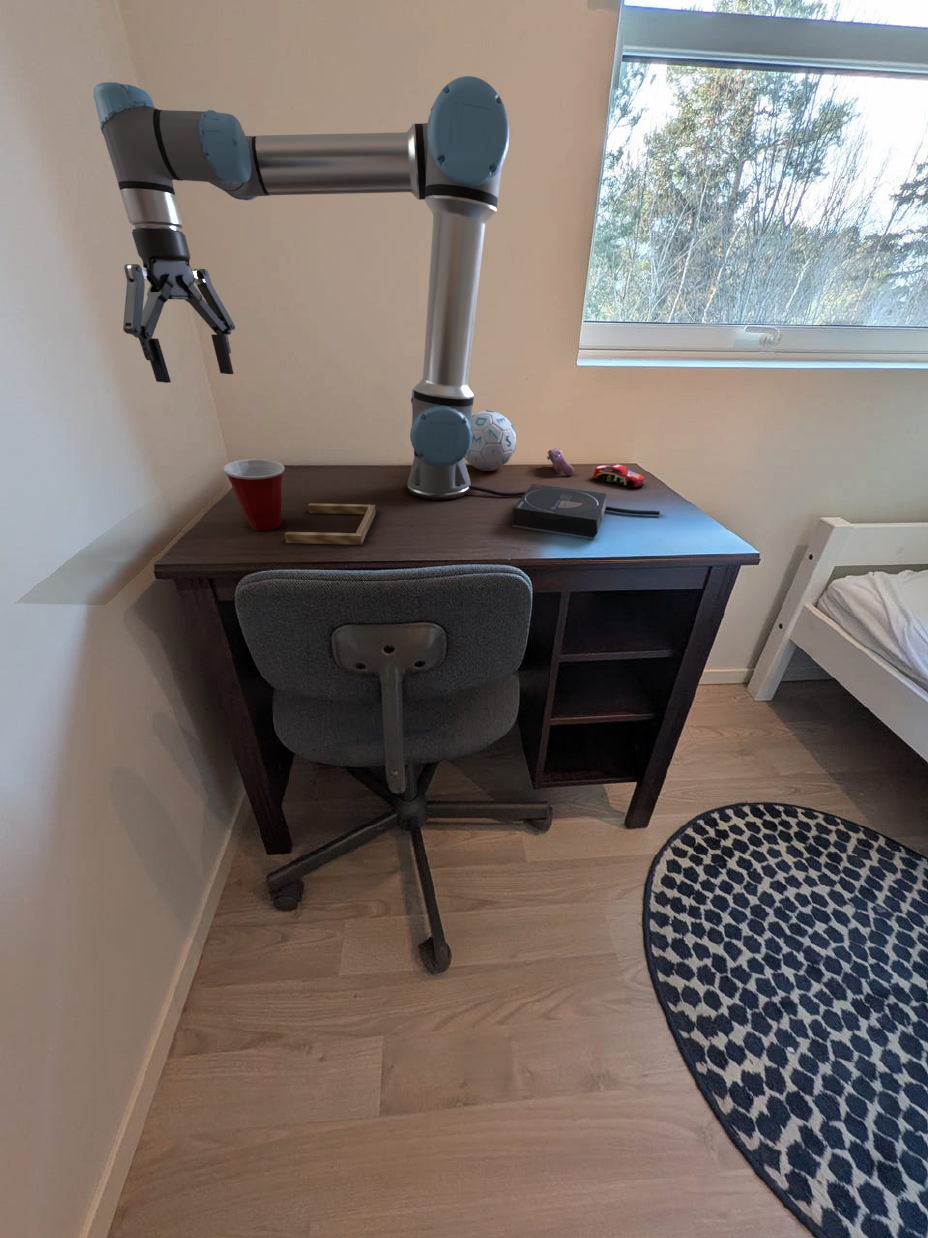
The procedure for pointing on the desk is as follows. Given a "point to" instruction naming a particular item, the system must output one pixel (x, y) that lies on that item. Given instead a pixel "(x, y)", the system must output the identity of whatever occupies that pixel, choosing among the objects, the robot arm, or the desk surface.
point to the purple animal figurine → (560, 462)
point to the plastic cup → (258, 490)
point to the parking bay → (336, 537)
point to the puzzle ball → (490, 441)
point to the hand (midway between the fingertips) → (197, 377)
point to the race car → (619, 475)
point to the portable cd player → (560, 511)
